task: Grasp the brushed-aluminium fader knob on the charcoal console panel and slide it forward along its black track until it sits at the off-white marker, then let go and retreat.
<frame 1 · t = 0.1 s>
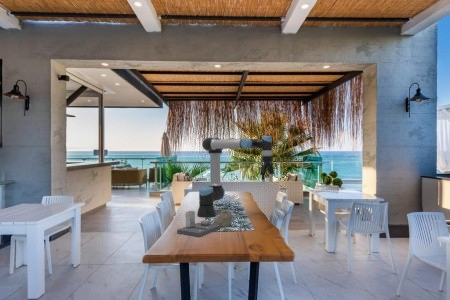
hand: (267, 183, 258), 28 cm above the table, fingers open, 13 cm apart
fossil tooth: (222, 226, 235), on the table
fader: (190, 218, 223), point 8 cm above the table, slide at 0.0 cm
console: (199, 231, 221), on the table
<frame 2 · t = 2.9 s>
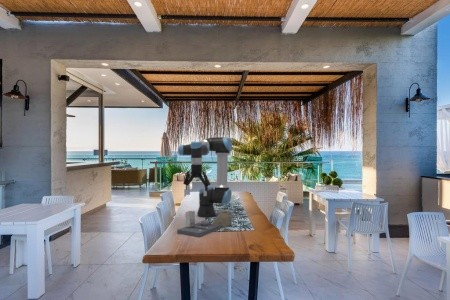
hand: (196, 195, 225), 24 cm above the table, fingers open, 13 cm apart
nothing on the table moved.
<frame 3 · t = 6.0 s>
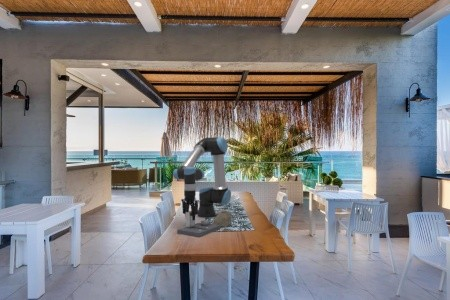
hand: (190, 224, 223), 4 cm above the table, fingers closed on fader, 3 cm apart
fader: (190, 218, 223), point 8 cm above the table, slide at 0.0 cm, touching gripper
everything else where it was.
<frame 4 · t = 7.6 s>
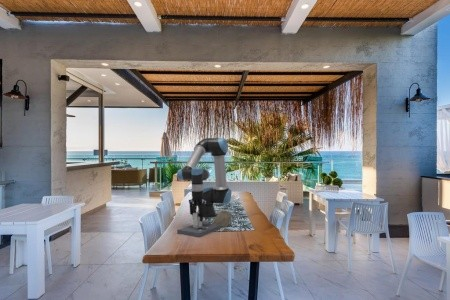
hand: (197, 225, 219), 4 cm above the table, fingers closed on fader, 3 cm apart
fader: (197, 219, 219), point 8 cm above the table, slide at 6.3 cm, touching gripper
everything else where it was.
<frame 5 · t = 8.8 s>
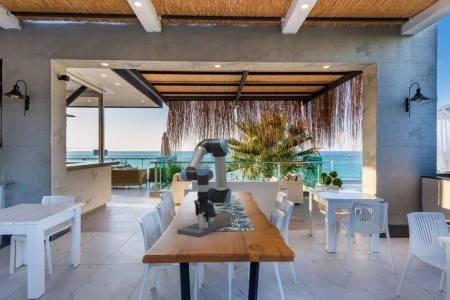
hand: (203, 226, 217), 4 cm above the table, fingers closed on fader, 3 cm apart
fader: (203, 220, 217), point 8 cm above the table, slide at 10.9 cm, touching gripper
everything else where it was.
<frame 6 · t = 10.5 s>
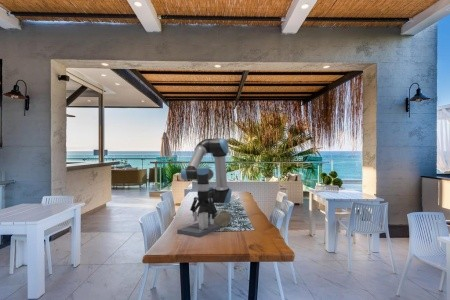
hand: (203, 222, 217), 7 cm above the table, fingers open, 13 cm apart
fader: (203, 220, 217), point 8 cm above the table, slide at 11.0 cm
everything else where it was.
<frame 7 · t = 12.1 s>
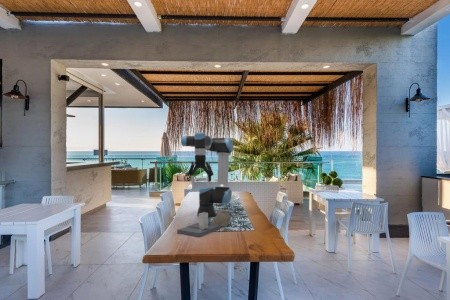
hand: (200, 185, 229), 30 cm above the table, fingers open, 13 cm apart
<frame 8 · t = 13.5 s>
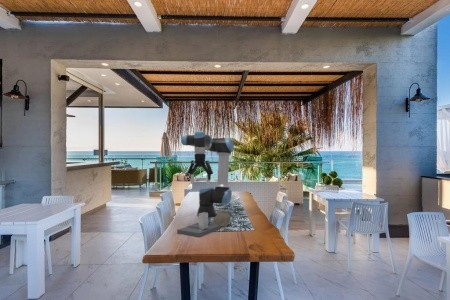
hand: (200, 184, 229), 31 cm above the table, fingers open, 13 cm apart
at the end: fader slide at 11.0 cm; the gripper is holding nothing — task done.
